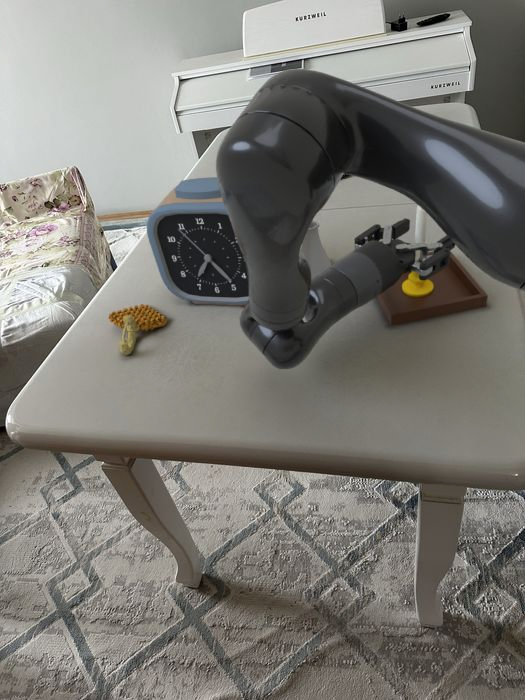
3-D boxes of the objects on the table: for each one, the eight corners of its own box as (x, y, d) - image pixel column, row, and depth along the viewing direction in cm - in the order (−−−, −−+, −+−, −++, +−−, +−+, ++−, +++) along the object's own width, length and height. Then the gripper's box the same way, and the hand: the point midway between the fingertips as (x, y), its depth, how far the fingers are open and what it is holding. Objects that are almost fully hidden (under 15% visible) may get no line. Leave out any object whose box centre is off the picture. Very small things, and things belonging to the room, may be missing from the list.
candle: (438, 284, 89) (445, 199, 79) (424, 300, 86) (430, 214, 76) (410, 276, 92) (414, 194, 82) (396, 291, 89) (398, 208, 79)
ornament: (116, 287, 96) (88, 322, 82) (172, 293, 96) (154, 328, 82) (118, 320, 99) (91, 359, 86) (172, 325, 99) (154, 365, 86)
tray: (447, 260, 95) (448, 248, 94) (485, 308, 83) (488, 295, 82) (364, 277, 95) (363, 265, 94) (390, 327, 83) (391, 315, 82)
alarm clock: (169, 307, 97) (133, 200, 83) (188, 279, 104) (157, 175, 90) (274, 312, 91) (254, 197, 77) (287, 281, 98) (270, 170, 84)
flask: (317, 257, 103) (313, 210, 96) (341, 271, 98) (338, 223, 91) (288, 271, 100) (281, 225, 94) (310, 286, 95) (305, 238, 89)
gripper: (400, 270, 69) (472, 221, 76) (324, 239, 78) (394, 198, 85) (399, 315, 74) (467, 265, 80) (327, 281, 83) (393, 239, 90)
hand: (429, 231), depth 83 cm, fingers open, 8 cm apart
